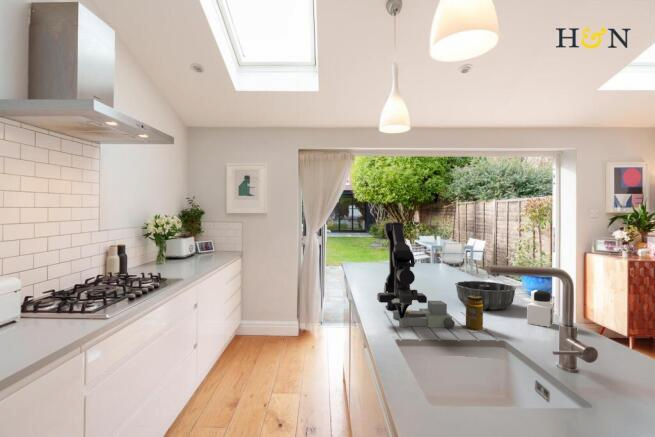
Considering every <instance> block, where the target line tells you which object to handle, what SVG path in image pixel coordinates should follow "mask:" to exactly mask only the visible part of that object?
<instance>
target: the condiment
mask: <svg viewBox="0 0 655 437" xmlns="http://www.w3.org/2000/svg"><path fill="white" fill-rule="evenodd" d="M457 328H459V329H462V330H465V331H467V332H471V333H478V332H483V331H485V330H489V329H488V328H487V327H484V309H483V304H482V297H480V296H475V295H470V296H467V303H466V305H465V324H464V325H459V326H458V325H457Z"/></svg>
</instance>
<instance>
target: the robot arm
mask: <svg viewBox="0 0 655 437" xmlns="http://www.w3.org/2000/svg"><path fill="white" fill-rule="evenodd" d="M383 231H384V233H385V238H386V239H387V241H388V254H389V255H388V260H389V261H388V262H389V263H388V264H389V265H388V266H389V267H388V269H389V273H388V275H387V277H386V279H385V282H384V286H383V292H378V293H377V295H376V297H377V298H376V299H377V301H378V302H379V303H381V304H382V303H384V304H385V303H386V304H385V309H386V310H387V311H398V314H399V317H400V318H403V317H404V314H405V312H406V310H408V308H409V306H412V305H413V301H417V302H418V303H419V304H426V303H427V304H428V298H427V296H426V294H424V293H423V292H418V290H417V289H411V285H412V284H413V283H414V282H415V280H416V278H415V277H416V276H415V273H414V272H413V271H412V270H411V268H415V265H416V260H415V255H414V253H413V251H412V250H411V246H409V244H408V243H406V239H405V235H404V232H405V224H404V223H403V222H401V221H392V222H391V221H390V222H386V223H385V224H384V227H383Z"/></svg>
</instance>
